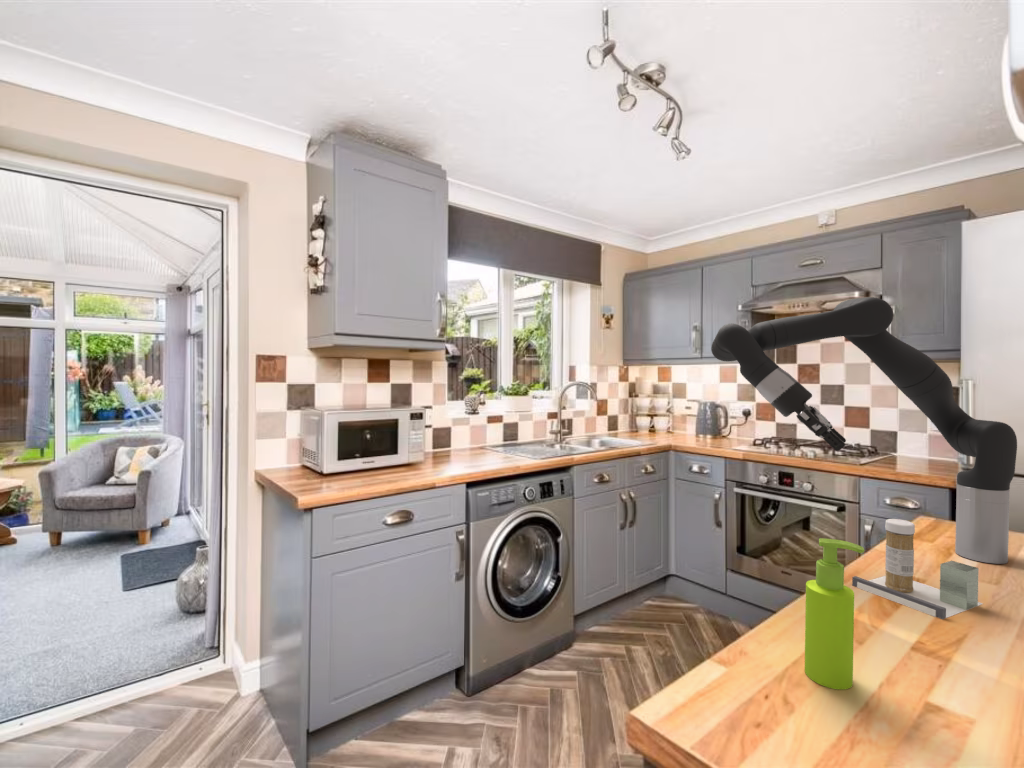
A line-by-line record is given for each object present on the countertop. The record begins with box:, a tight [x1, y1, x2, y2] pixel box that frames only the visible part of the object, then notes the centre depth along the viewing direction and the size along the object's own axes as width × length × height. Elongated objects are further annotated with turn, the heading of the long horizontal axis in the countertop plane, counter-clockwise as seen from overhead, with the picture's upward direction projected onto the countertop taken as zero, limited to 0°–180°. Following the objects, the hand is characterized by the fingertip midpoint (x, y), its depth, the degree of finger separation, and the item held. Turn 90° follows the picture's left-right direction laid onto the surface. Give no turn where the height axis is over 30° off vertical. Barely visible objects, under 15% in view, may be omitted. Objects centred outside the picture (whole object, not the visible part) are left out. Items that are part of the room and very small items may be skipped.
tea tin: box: [939, 560, 980, 611], centre depth 91 cm, size 4×4×7 cm
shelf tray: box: [851, 575, 984, 620], centre depth 95 cm, size 14×15×3 cm
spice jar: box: [884, 518, 916, 593], centre depth 97 cm, size 5×5×13 cm
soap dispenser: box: [804, 537, 865, 691], centre depth 71 cm, size 6×7×20 cm
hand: (842, 445), depth 106 cm, fingers open, 8 cm apart
